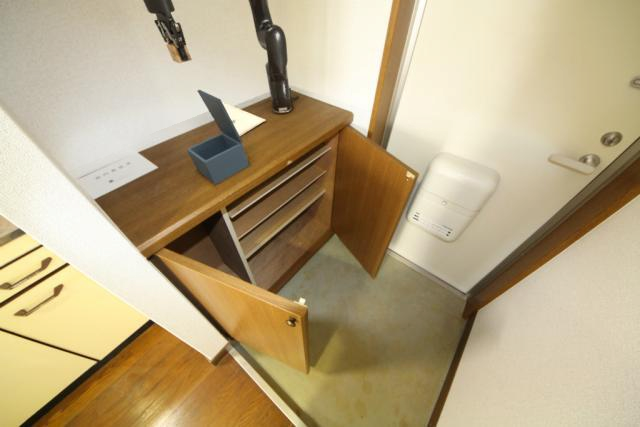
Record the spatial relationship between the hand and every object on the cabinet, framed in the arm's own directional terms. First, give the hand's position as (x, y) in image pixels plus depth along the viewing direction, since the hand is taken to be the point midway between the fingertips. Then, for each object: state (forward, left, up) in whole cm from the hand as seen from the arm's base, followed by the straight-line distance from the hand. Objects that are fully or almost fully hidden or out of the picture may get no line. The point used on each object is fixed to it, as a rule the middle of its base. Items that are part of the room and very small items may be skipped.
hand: (182, 59), depth 77 cm
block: (0, 0, 0) cm, 0 cm away
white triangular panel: (-10, +8, -27) cm, 30 cm away
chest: (+12, +27, -27) cm, 40 cm away
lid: (+6, +27, -11) cm, 30 cm away
